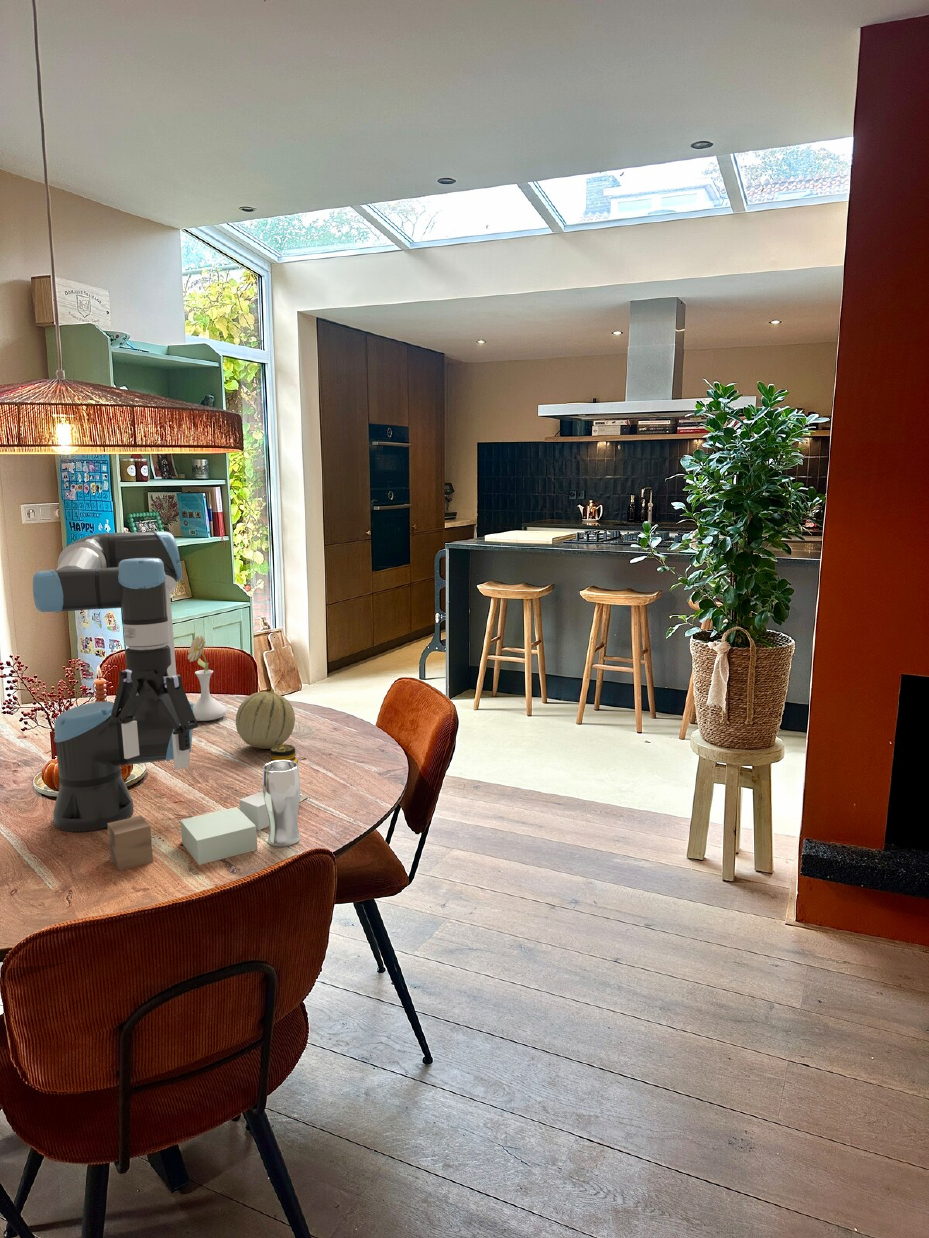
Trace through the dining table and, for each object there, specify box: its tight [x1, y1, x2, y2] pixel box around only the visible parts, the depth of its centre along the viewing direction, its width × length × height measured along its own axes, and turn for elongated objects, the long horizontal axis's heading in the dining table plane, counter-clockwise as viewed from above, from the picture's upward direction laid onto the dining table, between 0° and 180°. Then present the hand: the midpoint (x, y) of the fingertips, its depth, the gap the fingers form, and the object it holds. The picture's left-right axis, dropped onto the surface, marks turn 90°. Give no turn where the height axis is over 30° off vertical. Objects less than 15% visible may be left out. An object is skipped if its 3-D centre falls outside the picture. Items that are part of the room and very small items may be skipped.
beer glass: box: [262, 760, 301, 848], centre depth 161 cm, size 7×7×15 cm
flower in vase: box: [187, 634, 228, 722], centre depth 239 cm, size 13×11×25 cm
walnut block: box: [107, 815, 154, 872], centre depth 154 cm, size 6×6×7 cm
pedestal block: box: [179, 806, 258, 866], centre depth 159 cm, size 11×11×5 cm
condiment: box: [268, 744, 309, 803], centre depth 181 cm, size 7×8×12 cm
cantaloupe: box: [235, 688, 296, 750], centre depth 215 cm, size 15×15×15 cm
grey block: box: [239, 790, 270, 831], centre depth 171 cm, size 6×6×5 cm
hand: (156, 762), depth 152 cm, fingers open, 13 cm apart
